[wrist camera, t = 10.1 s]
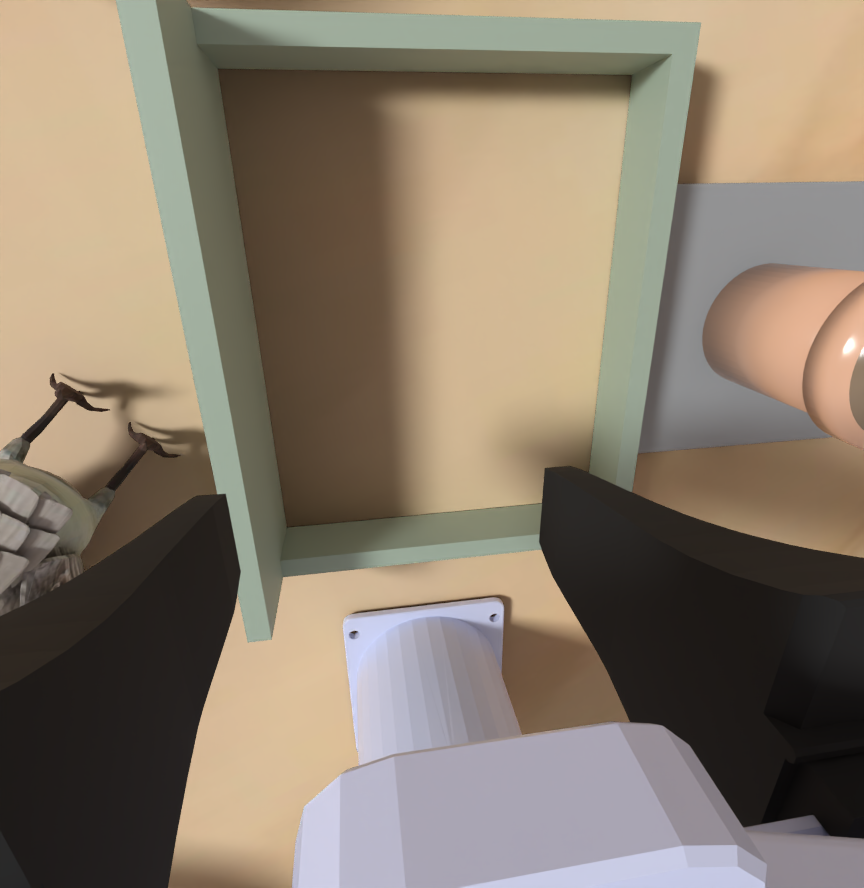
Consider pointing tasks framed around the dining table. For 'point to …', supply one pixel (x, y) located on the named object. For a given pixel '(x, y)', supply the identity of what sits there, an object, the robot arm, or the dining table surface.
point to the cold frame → (226, 273)
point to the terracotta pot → (795, 341)
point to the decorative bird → (49, 513)
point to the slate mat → (704, 276)
